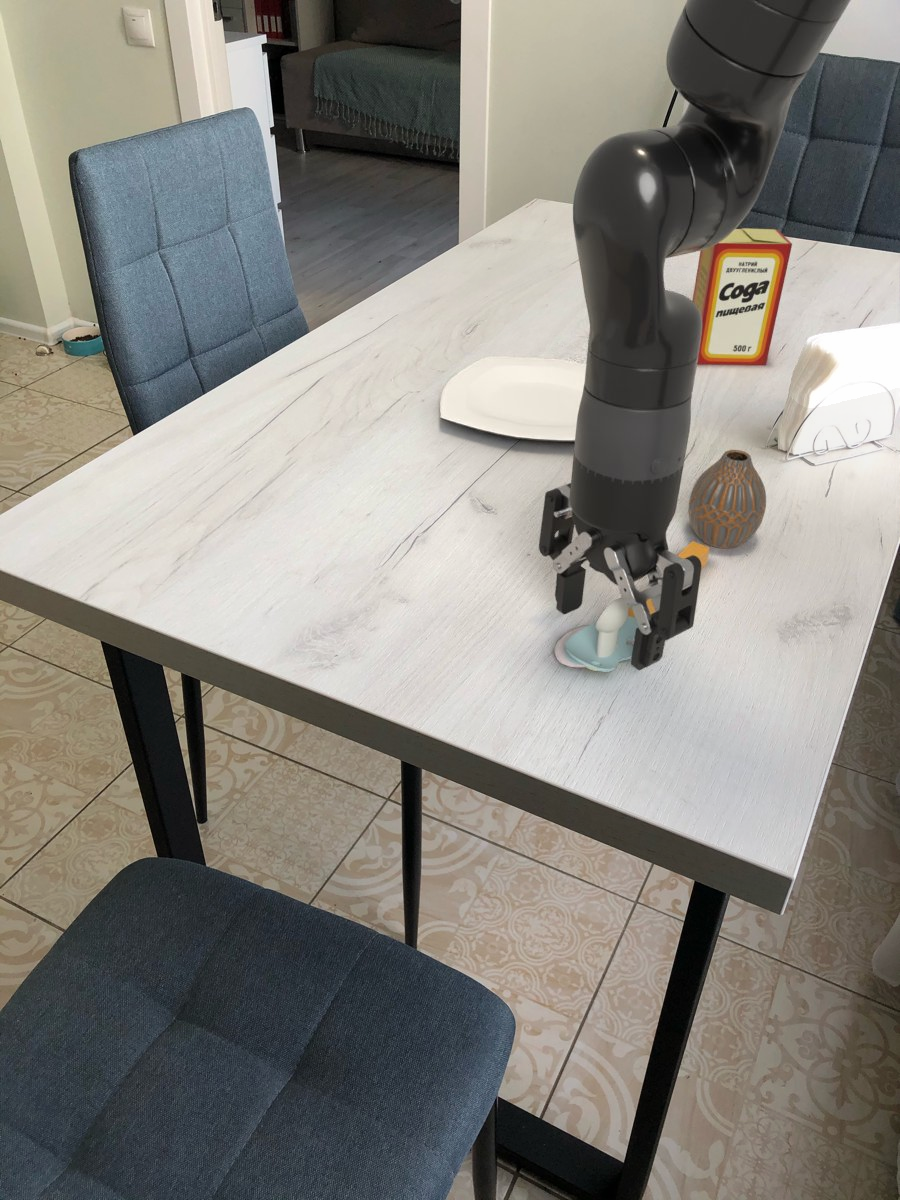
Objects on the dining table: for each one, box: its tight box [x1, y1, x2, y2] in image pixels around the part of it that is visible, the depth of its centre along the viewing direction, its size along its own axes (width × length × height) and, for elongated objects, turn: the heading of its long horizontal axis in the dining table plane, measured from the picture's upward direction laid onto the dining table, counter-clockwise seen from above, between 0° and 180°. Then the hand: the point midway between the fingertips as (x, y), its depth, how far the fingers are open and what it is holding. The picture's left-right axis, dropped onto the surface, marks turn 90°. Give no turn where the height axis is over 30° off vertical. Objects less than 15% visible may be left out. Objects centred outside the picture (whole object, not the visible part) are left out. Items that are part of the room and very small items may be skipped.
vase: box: [687, 449, 767, 549], centre depth 87 cm, size 7×7×9 cm
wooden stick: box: [628, 541, 711, 618], centre depth 82 cm, size 12×2×2 cm, turn 143°
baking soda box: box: [691, 227, 793, 366], centre depth 123 cm, size 10×6×16 cm
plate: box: [439, 356, 586, 443], centre depth 112 cm, size 23×23×2 cm
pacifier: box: [554, 597, 638, 673], centre depth 74 cm, size 7×6×6 cm
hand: (604, 635), depth 74 cm, fingers open, 8 cm apart
